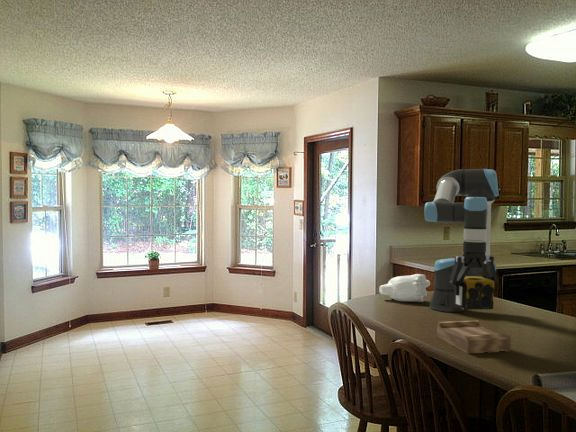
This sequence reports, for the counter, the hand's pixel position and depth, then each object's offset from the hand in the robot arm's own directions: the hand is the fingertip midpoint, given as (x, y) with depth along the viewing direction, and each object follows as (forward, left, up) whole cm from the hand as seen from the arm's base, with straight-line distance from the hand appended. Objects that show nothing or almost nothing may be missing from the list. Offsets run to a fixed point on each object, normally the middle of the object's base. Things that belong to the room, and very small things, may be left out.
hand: (473, 304), depth 173 cm
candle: (0, 0, -1) cm, 1 cm away
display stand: (0, 0, -14) cm, 14 cm away
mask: (-8, -73, -14) cm, 75 cm away
